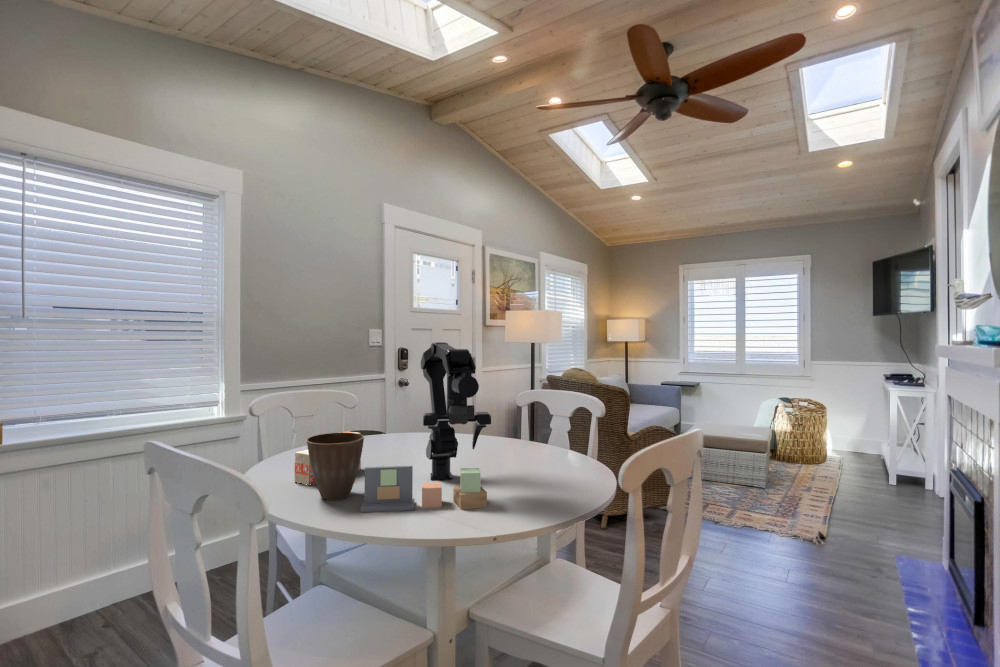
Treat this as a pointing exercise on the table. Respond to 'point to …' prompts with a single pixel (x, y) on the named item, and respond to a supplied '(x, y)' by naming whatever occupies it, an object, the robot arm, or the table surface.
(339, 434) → the plant pot
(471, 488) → the sage block
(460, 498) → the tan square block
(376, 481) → the card
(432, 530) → the table surface
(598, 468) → the table surface
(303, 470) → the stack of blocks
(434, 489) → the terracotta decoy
